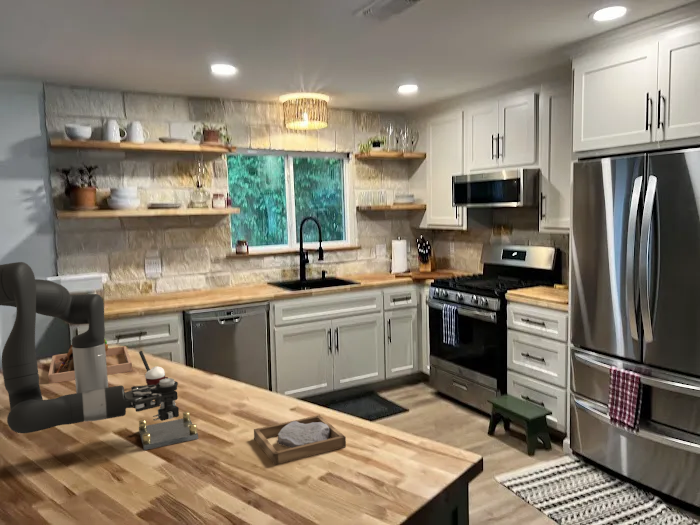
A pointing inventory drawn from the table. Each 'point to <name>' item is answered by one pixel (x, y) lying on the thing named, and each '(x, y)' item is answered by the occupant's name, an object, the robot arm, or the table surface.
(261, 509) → the table surface
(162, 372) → the cocoa
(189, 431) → the plate
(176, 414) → the push button
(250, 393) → the table surface
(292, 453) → the block coaster frame
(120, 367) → the wooden tray
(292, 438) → the stone block
